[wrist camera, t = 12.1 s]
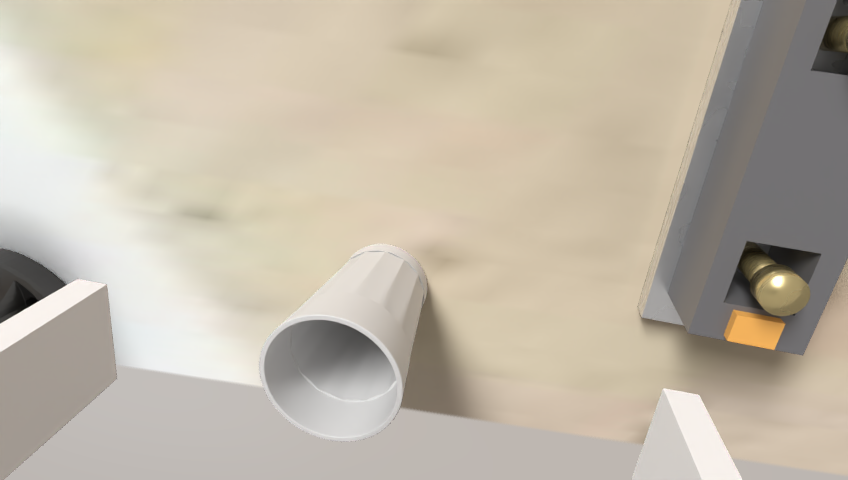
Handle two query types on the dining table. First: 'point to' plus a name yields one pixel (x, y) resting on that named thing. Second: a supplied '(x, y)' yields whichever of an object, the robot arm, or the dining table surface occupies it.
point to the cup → (348, 347)
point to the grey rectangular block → (772, 186)
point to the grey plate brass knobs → (767, 279)
